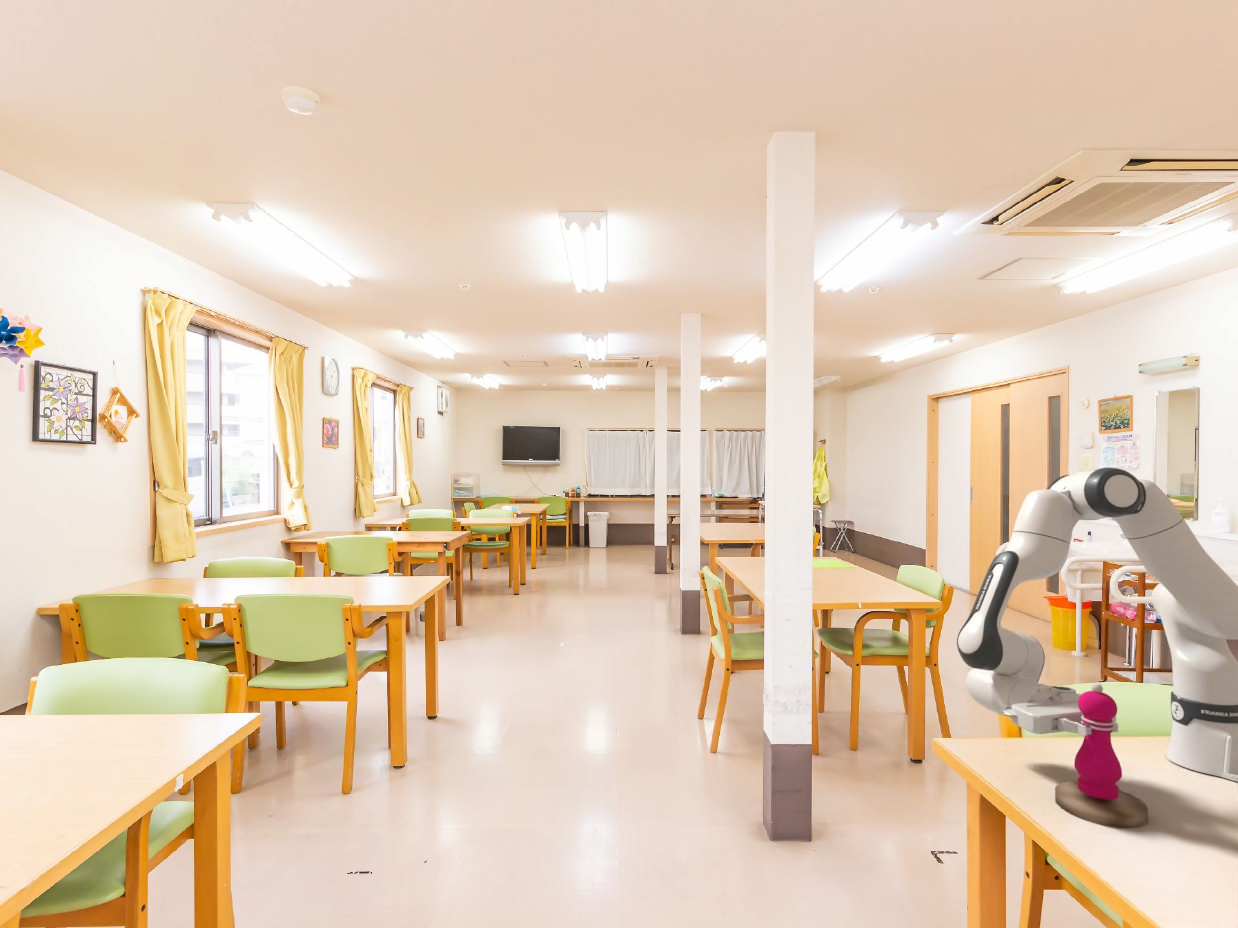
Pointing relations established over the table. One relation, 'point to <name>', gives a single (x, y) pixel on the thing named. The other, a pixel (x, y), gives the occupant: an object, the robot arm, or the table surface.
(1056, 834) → the table surface
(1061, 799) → the walnut board
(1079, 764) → the pepper mill
